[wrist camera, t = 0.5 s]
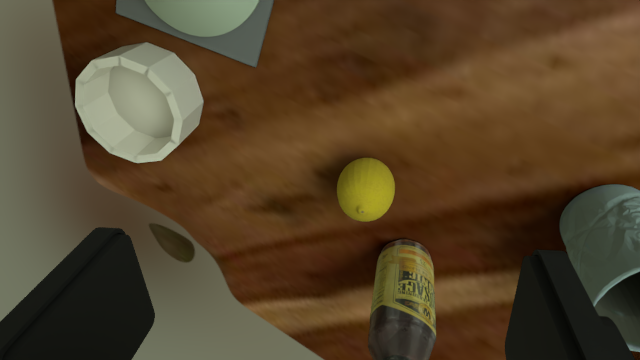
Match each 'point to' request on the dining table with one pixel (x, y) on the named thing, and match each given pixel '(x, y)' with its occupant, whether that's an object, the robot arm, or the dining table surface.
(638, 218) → the blue-green cup
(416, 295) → the sauce bottle
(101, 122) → the bowl
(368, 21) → the dining table surface
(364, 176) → the lemon
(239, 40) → the mat
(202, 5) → the lid
